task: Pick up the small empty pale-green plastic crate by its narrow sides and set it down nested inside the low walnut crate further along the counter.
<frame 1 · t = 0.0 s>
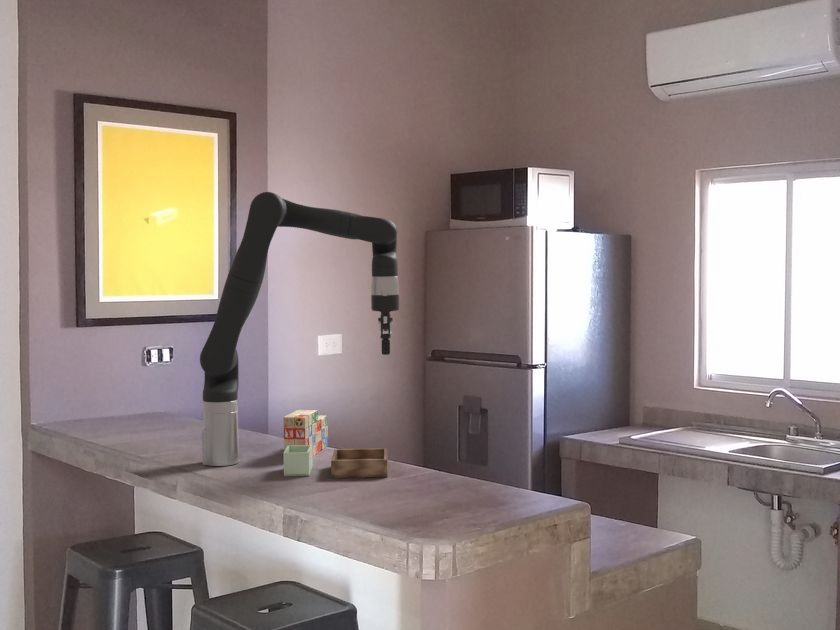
hand: (385, 353, 258), 29 cm above the table, fingers open, 8 cm apart
big crate: (360, 471, 245), on the table
small crate: (298, 472, 246), on the table
stack of blocks: (307, 454, 271), on the table
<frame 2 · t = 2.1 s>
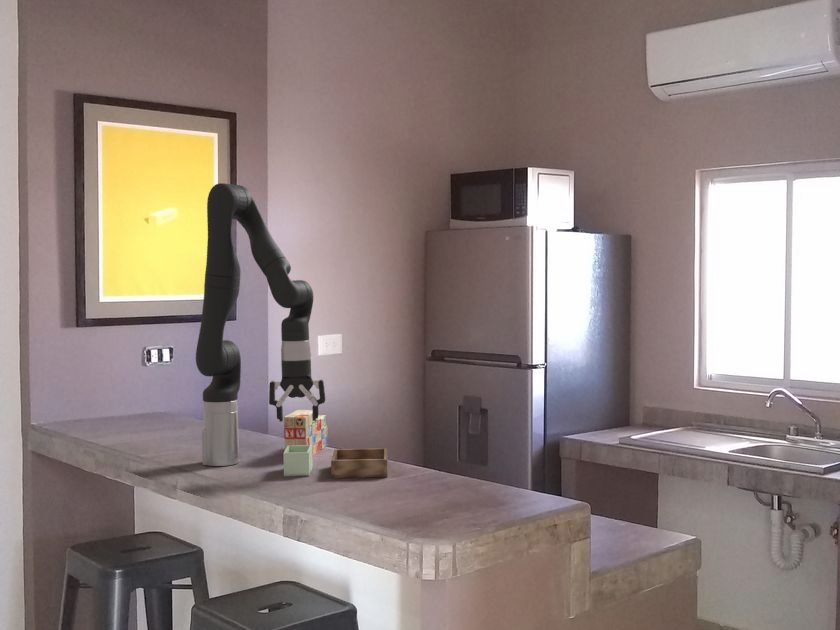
hand: (298, 420, 245), 13 cm above the table, fingers open, 8 cm apart
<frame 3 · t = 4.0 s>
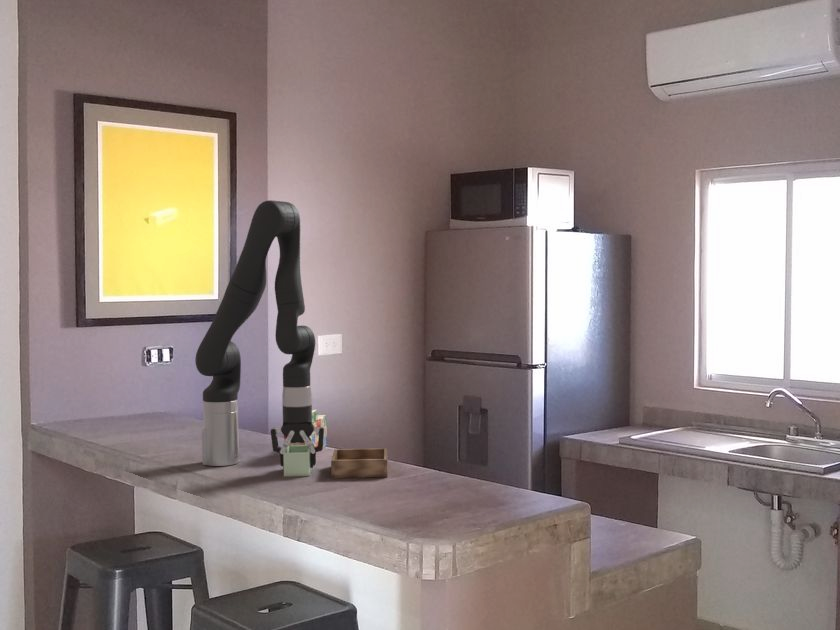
hand: (298, 467, 245), 1 cm above the table, fingers closed on small crate, 6 cm apart
small crate: (298, 472, 246), on the table, touching gripper
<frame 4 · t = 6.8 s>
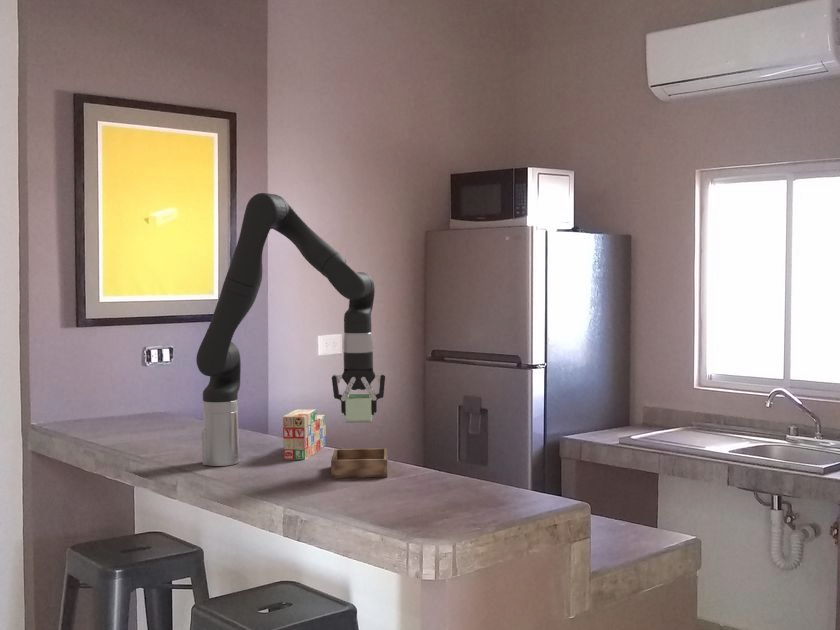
hand: (359, 414, 244), 15 cm above the table, fingers closed on small crate, 6 cm apart
small crate: (359, 419, 244), point 14 cm above the table, touching gripper
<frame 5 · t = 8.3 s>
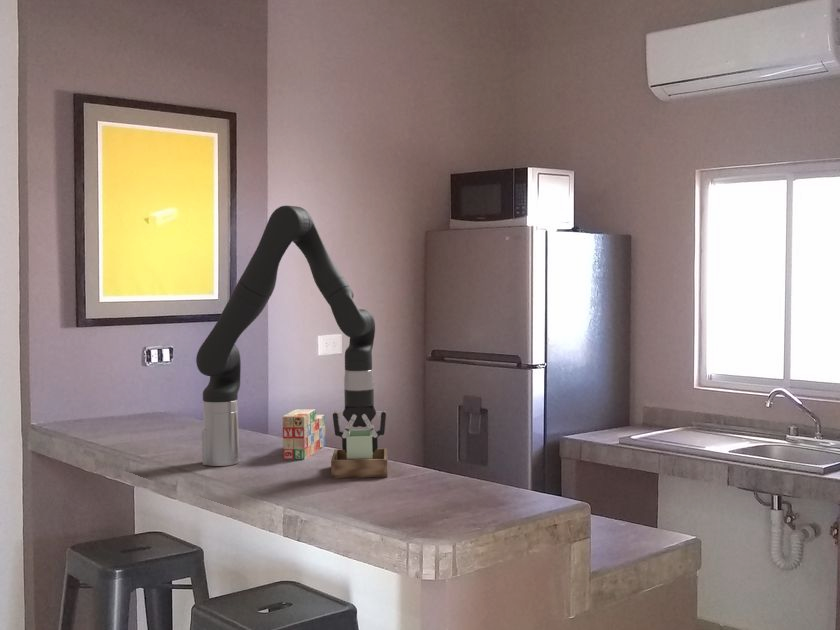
hand: (360, 451, 245), 5 cm above the table, fingers closed on small crate, 6 cm apart
small crate: (360, 456, 245), point 4 cm above the table, touching gripper
when the fingers open (4 cm above the table, at t = 9.6 s): small crate drops 2 cm, resting on big crate.
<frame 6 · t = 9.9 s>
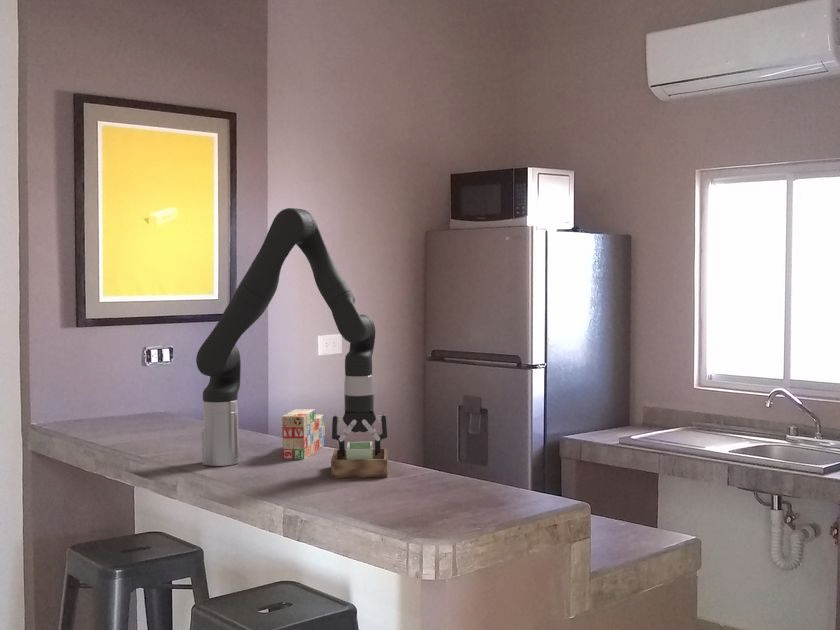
hand: (360, 455, 245), 4 cm above the table, fingers open, 8 cm apart
small crate: (359, 468, 245), point 1 cm above the table, touching big crate
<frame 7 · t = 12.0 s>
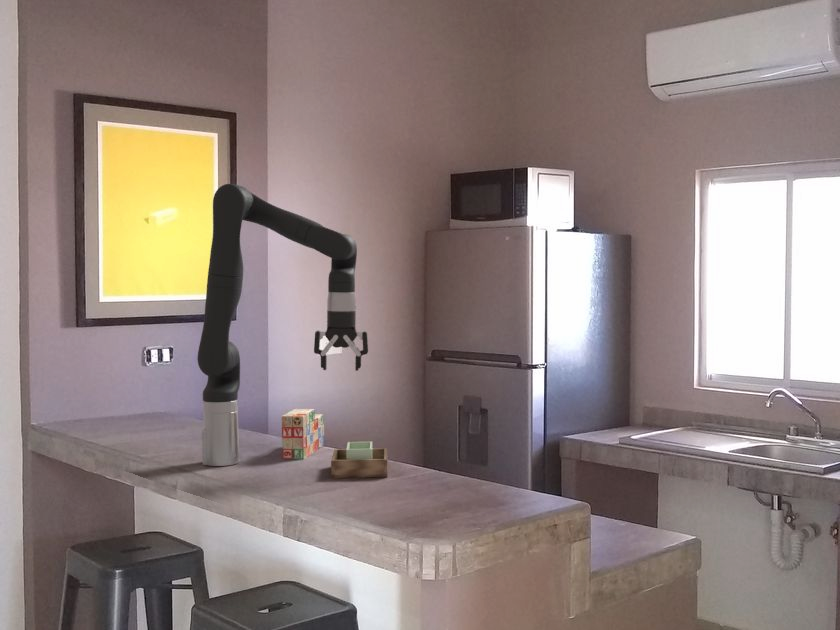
hand: (341, 370, 253), 25 cm above the table, fingers open, 8 cm apart
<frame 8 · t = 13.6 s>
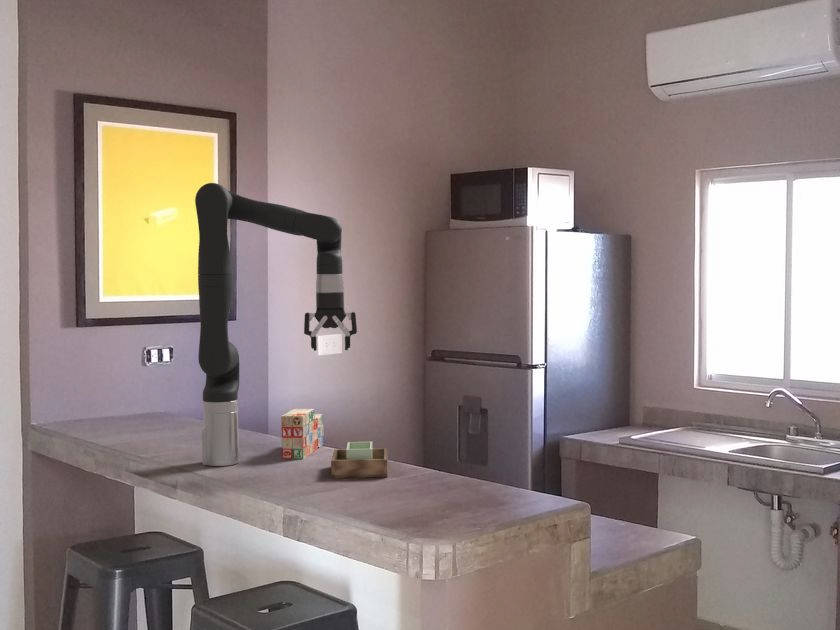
hand: (330, 350, 259), 30 cm above the table, fingers open, 8 cm apart
at the end: small crate 0.1 cm off-centre on the big crate, point 0.8 cm above the big crate's base; small crate tilted 0°; the gripper is holding nothing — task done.
